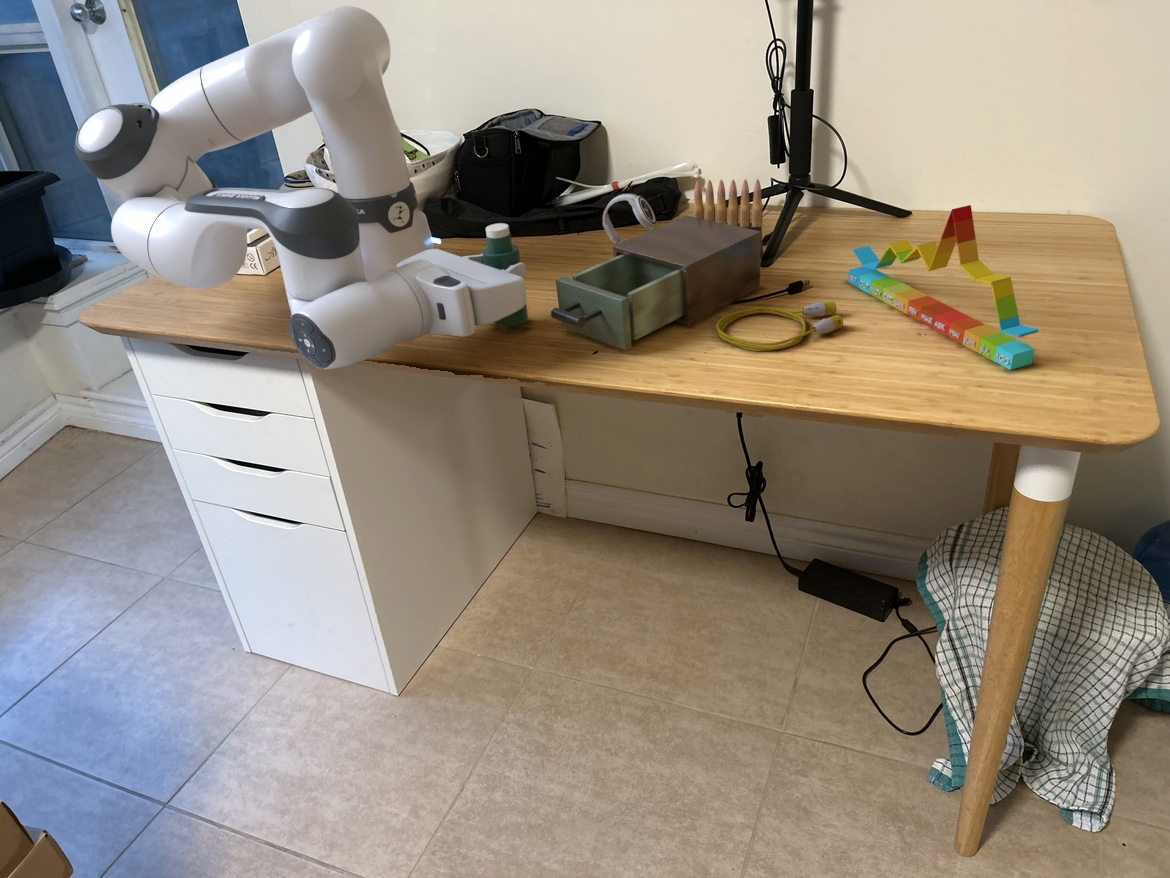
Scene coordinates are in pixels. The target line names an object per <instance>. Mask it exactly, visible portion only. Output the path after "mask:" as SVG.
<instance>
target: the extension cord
mask: <svg viewBox="0 0 1170 878" xmlns="http://www.w3.org/2000/svg"><path fill="white" fill-rule="evenodd" d="M801 313H802V315H803V316H808V317H818V318H819V317H824V316H826V315H832V316H830V317H826V318H822V319H821V320H820V321H817V323H814V325H812V326H811V327H810V330H808V331H807V325H806V321H805V319H804V317H802V316H800V315H798V314H801ZM836 313H837V304H836V302H835V301H830V302H829V301H828V302H825V301H821V302H818V301H816V302H815V303H811V304H808V305H804V306H802V309H799V310H783V309H780V308H777V307H766V306H765V307H762V306H761V307H751V308H747V309H742V310H738V311H733V312H732V313H729V314H727V315H725V316H723V317H721V318H720V319H719V320H718V321H717V322H716V324H715V328H716V330H717V335H718V336H719V337H720V338H721V339H722V340H724V341H726V342H727V343H729V344H730V345H733V346H735V347H738V348H740V349H743V350H748V351H751V352H752V351H754V352H769V351H777V350H783V349H787V348H790V347H792V346H795V345H797V344H799V343H800V342H801V341H802V340H803V339H804V337H805V336H807V335H810V334H813V335H816V336H817V335H824V334H825V335H828V334H829V333H831V332H833V331H837V330H839V329H841V328H843V326H844V324H845V323H844V319H843V318H842V317H841V316H840V315H839V314H836ZM756 314H772V315H777V316H781V317H785V318H788V319H790V320H794V321H796V322H798V323H800V324H801V325H802V331H801V333H800V334H797V335H795V336H793V337H790V338H787V339H784V340H780V341H775V342H760V341H759V342H758V341H750V340H746V339H741V338H737V337H734V336H731V335H730V334H727V333H725V332H724V330H725V328H726V327H727V326H728V325H729V324H730V323H733V321H736V320H737V319H740V318H743V317H746V316H751V315H756ZM834 314H836V315H834Z"/></svg>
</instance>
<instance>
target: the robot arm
mask: <svg viewBox="0 0 1170 878" xmlns="http://www.w3.org/2000/svg"><path fill="white" fill-rule="evenodd" d="M391 53H392V51H391V42H390V38H389V35H388V32H387V31H386V28H385V27H384V26H383V24H382V22H381V21H380V20H379V19H378V18H377V17H376V16H375V15H373V14H372V13H370V12H369V11H367V10H366V9H363V8H361V7H357V6H350V5H345V6H339V7H335V8H333V9H331V10H328V11H327V12H324V13H321V14H320V15H317V16H315V17H313V18H310V19H308V20H305V21H304V22H301V23H299V24H297V25H294V26H292V27H289V28H288V29H285V30H283V31H281V32H279V33H276V34H274V35H271V36H269V37H266V38H265V39H262V40H260V41H258V42H255V43H253V44H252V45H248V46H246V47H243V48H241V49H240V50H237V51H234V52H232V53H230V54H228V55H225V56H223V57H221V58H219V59H216V60H214V61H212V62H209V63H207V64H205V65H202V66H200V67H198V68H196V69H194V70H192V71H190V72H189V73H187V74H185V75H183V76H181V77H180V78H178V79H176V80H175V81H173V82H172V83H170V84H169V85H167V86H166V87H164V88H163V89H162V90H161V91H159V92H158V93H157V94H156V95H155V96H154V97H153V99H152V100H151V103H150V104H147V103H144V102H133V103H132V102H131V103H128V104H126V103H118V104H113V105H107V106H105V107H101V108H99V109H97V110H95V111H93V112H92V113H90V114H89V115H88V116H87V117H86V118H85V119H84V120H83V121H82V122H81V124H80V126H79V127H78V129H77V131H76V135H75V140H74V153H75V154H76V156H77V158H78V159H79V161H80V162H81V164H82V165H83V166H84V168H85V169H86V170H87V171H88V172H89V173H90V174H91V176H93V177H94V178H96V179H99V180H100V182H102V183H103V185H105V186H106V187H107V188H108V190H109V191H111V192H112V193H113V194H114V195H115V196H116V197H117V198H118V199H120V200H121V201H122V202H123V203H122V204H121V205H120V206H119V207H118V208H117V210H116V211H115V212H114V214H113V217H112V220H111V224H110V233H111V238H112V241H113V242H114V246H115V247H116V249H117V250H118V252H119V253H120V254H121V255H123V257H125V258H126V259H127V260H129V261H130V262H131V263H133V264H134V265H136V266H138V267H139V268H141V269H142V270H144V271H146V272H148V273H149V274H152V275H154V276H156V277H158V278H160V279H162V280H165V281H167V282H170V283H173V284H175V285H178V286H180V287H183V288H186V289H191V290H197V291H198V290H199V291H209V290H213V289H217V288H220V287H222V286H224V285H226V284H227V283H228V282H230V281H231V280H232V279H233V278H234V277H235V276H236V275H237V274H238V272H239V271H240V270H241V268H242V267H243V264H244V263H245V260H246V257H247V253H248V229H251V230H259V231H260V230H261V231H266V232H267V233H268V235H269V237H270V239H271V240H272V242H273V244H274V247H275V250H276V252H277V253H276V254H277V257H278V261H279V266H280V270H281V274H282V279H283V283H284V289H285V293H286V298H287V303H288V306H289V310H290V314H291V315H290V318H289V320H288V329H289V334H290V338H291V340H292V343H293V344H294V346H295V348H296V350H297V351H298V353H299V354H300V355H301V356H302V357H303V358H304V359H305V361H307V363H309V364H310V365H312V366H313V367H315V368H317V369H320V370H333V369H338V368H343V367H347V366H351V365H355V364H358V363H361V362H364V361H366V360H367V361H368V360H369V359H373V358H374V357H377V356H379V355H381V354H384V353H386V352H389V351H390V350H392V348H393V347H395V346H396V345H398V344H399V343H402V342H407V341H414V340H417V339H419V338H422V337H424V336H426V335H428V336H451V337H459V338H465V337H469V336H471V335H474V334H475V333H476V327H479V326H480V327H481V326H482V327H483V326H487V325H490V324H493V323H494V322H495V321H498V320H500V319H502V318H504V317H506V316H509V315H511V314H513V313H515V312H517V311H519V310H520V309H522V308H523V307H524V306H525V304H526V305H527V302H528V294H527V287H526V282H525V279H524V277H526V275H527V267H526V264H525V263H524V262H517V261H515V262H514V263H510V264H508V269H506V270H503V269H502V270H499V269H496V268H493V267H490V266H487V265H484V260H483V253H480V254H474V255H463V256H460V255H458V254H454V253H451V252H449V251H445V250H442V249H440V248H435V244H438V245H440V244H442V241H441V238H438V237H432V232H431V230H430V225H429V223H428V218H427V216H426V214H425V213H424V212H423V211H421V210H420V209H418V208H417V207H418V205H419V203H418V199H417V196H418V195H417V192H416V189H415V185H414V183H413V182H412V181H411V179H410V174H409V169H408V164H407V163H408V162H407V159H406V155H405V149H404V148H405V147H404V144H403V139H402V133H401V130H400V128H399V125H397V122H396V120H395V117H394V114H393V111H392V109H391V106H390V103H389V99H388V96H387V93H386V89H385V85H384V83H383V82H384V81H383V75H384V74H385V73H386V71H387V69H388V67H389V64H390V61H391ZM310 113H313V115H314V118H315V120H316V122H317V124H318V127H319V129H320V131H321V134H322V136H323V140H324V142H325V145H326V149H327V152H328V156H329V157H328V158H329V160H330V165H331V168H332V172H333V177H334V180H335V184H336V188H337V192H336V191H335V190H333V189H330V188H325V187H324V188H323V187H321V188H320V187H319V188H318V187H315V188H299V189H298V188H297V189H272V188H258V187H257V188H254V187H230V186H229V187H228V186H227V187H218V185H217V184H216V183H215V181H214V180H213V179H212V177H210V176H208V175H206V173H205V172H204V171H203V170H202V168H201V167H200V166H199V165H198V163H197V162H198V160H199V159H200V158H202V157H203V155H205V154H207V153H211V152H215V151H219V150H220V151H221V150H223V149H226V148H230V147H232V146H235V145H236V146H237V145H238V144H241V143H243V142H246V141H249V140H251V139H253V138H256V137H258V136H261V135H263V134H266V133H268V132H270V131H273V130H275V129H277V128H279V127H282V126H285V125H287V124H290V123H292V122H294V121H297V120H298V119H300V118H302V117H304V116H305V115H309V114H310ZM522 277H523V278H522Z"/></svg>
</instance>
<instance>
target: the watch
mask: <svg viewBox="0 0 1170 878" xmlns="http://www.w3.org/2000/svg"><path fill="white" fill-rule="evenodd" d="M622 201H627V202H628V204H629V205H630V206H631V208H632V212H633V214H634V216H635V218H636V220H637V221H638V222H639V223H640V225H641V226H643V228H645V229H646V232H648V231H651V230H653V229H655V226H656V224H657V218H656V215H655V213H654V210H653V209H652V207H651V205H650V203H649V202H648V201H647V199H646V198H644V197H643V196H642V195H637V194H635V193H634V194H633V193H622V194H618V195H617V196H615V197H613V198H612V199H611V200H610V201H609V202H608V204H607V206H606V207H605V209H604V211H603V214H602V228H603V229H604V231H605V233H606V236H607V237H608V238H609V240H610V241H611V242H612V244H614V246H615V245H617V244H620V243H622V242H625V241H626V240H622V239H621V238H620V237H621V235H619V233H618V232H617V231H616V230H615V228H614V225H613V223H612V222H611V219H610V215H609V214H608V211H609V208H610V207H611V206H613V205H614V204H615V203H617V202H618V203H619V202H622Z"/></svg>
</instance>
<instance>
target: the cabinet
mask: <svg viewBox="0 0 1170 878" xmlns="http://www.w3.org/2000/svg"><path fill="white" fill-rule="evenodd" d="M760 236H761V231H756V230H751V229H747V228H742V227H738V226H733V225H729V224H724V223H719V222H716V220H715V221H710V220H706V219H705V218H704V219H701V218H697V217H693V215H685V216H681V217H679V218H677V219H675V220H672V221H670V222H668V223H665V224H663V225H660V226H658V227H656V228H654V229H653V230H651V231H646V232H644V233H642V234H639V235H637V236H634V237H632V238H630V239H627V240H624V241H625V242H622V243H620V244H616V245H615V244H614V245H613V246H612V254H613V255H612V256H613V258H614V257H616V256H619V255H621V254H625V255H629V256H633V257H636V258H640V259H643V260H647V261H651V262H654V263H658V264H662V265H665V266H669V267H672V268H676V269H680V270H683V293H684V315H683V316H682V317H680V318H678V319H676V320H674V321H672V322H673V323H677V324H680V325H683V326H686V327H690V326H692V325H694V324H696V323H698V322H700V321H701V320H704V319H705V318H707V317H709V316H711V315H713V314H715V313H716V312H718V311H721V310H723V309H725V308H726V307H728V306H730V305H732V304H734V303H736V302H737V301H739V300H741V299H743V298H745V297H746V296H749V295H751V294H753V293H754V292H757V291H759V290H760V289H761V259H760V250H761V237H760Z"/></svg>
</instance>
